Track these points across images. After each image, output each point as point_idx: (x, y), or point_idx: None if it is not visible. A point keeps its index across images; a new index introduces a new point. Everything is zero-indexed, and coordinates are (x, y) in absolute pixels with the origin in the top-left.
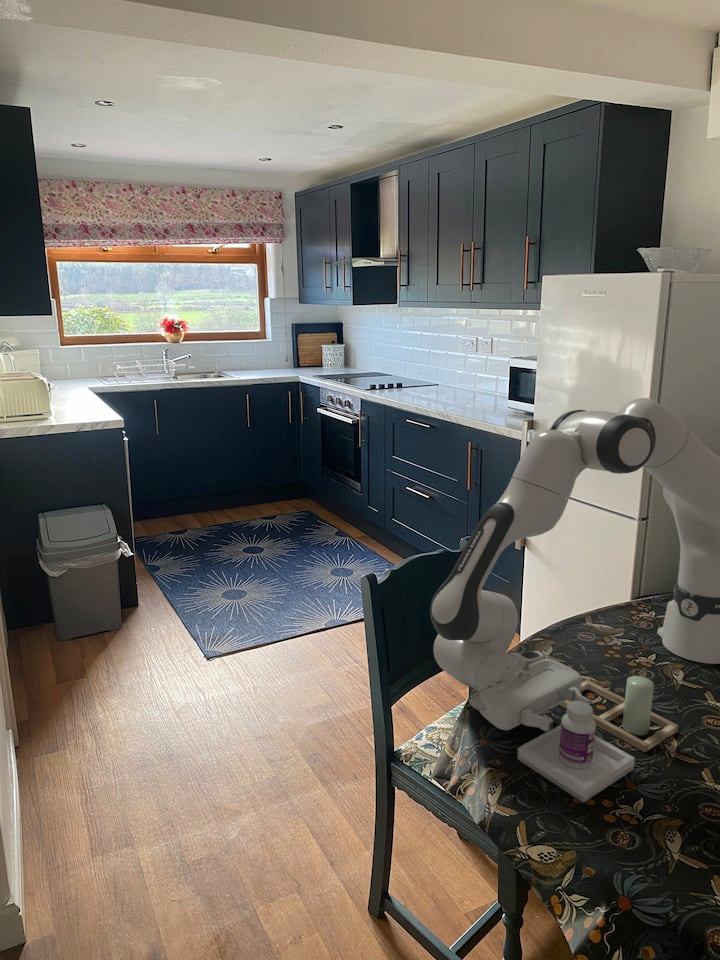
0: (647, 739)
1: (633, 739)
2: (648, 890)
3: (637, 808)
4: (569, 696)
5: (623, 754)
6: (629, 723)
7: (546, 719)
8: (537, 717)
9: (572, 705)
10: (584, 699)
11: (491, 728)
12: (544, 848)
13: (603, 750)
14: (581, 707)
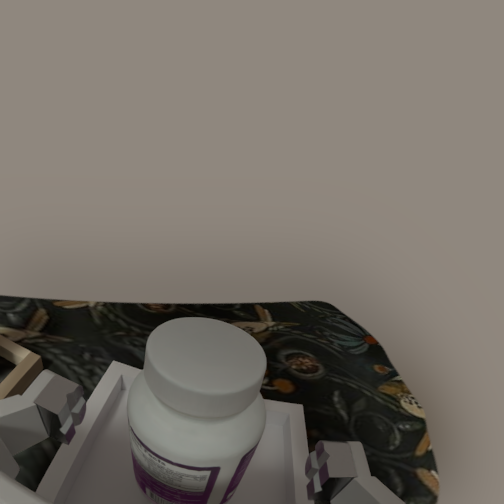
0: (15, 352)
1: (23, 374)
2: (338, 331)
3: None
4: (8, 464)
5: (113, 378)
6: None
7: (351, 450)
8: (376, 479)
9: (221, 371)
10: (53, 382)
11: None
12: (412, 409)
13: (98, 428)
14: (203, 344)
